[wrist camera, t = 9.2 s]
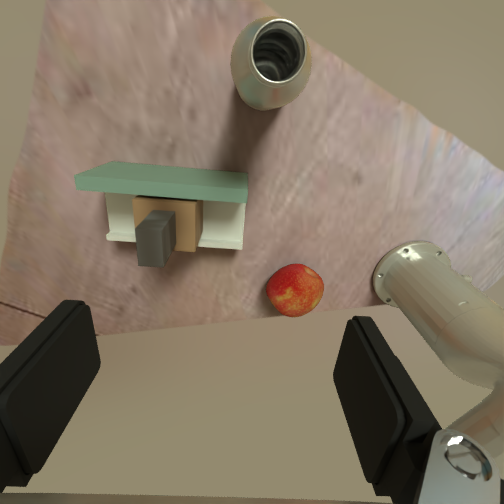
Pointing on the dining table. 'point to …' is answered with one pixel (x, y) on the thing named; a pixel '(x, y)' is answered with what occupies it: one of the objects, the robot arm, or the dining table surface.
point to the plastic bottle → (270, 62)
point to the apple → (295, 290)
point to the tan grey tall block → (165, 227)
